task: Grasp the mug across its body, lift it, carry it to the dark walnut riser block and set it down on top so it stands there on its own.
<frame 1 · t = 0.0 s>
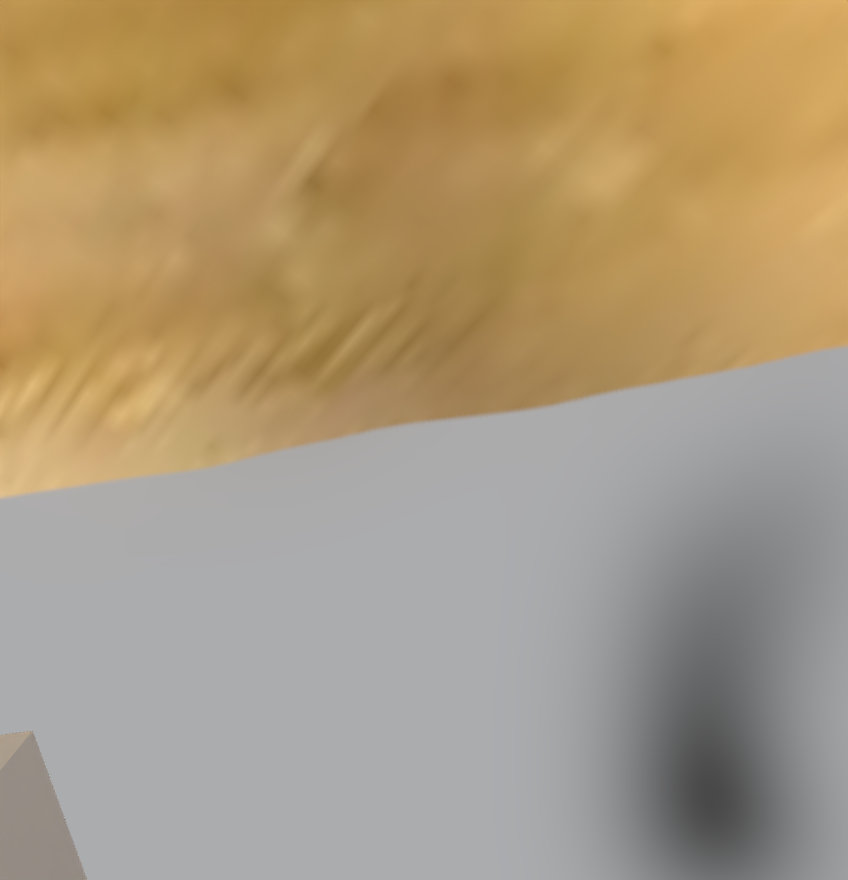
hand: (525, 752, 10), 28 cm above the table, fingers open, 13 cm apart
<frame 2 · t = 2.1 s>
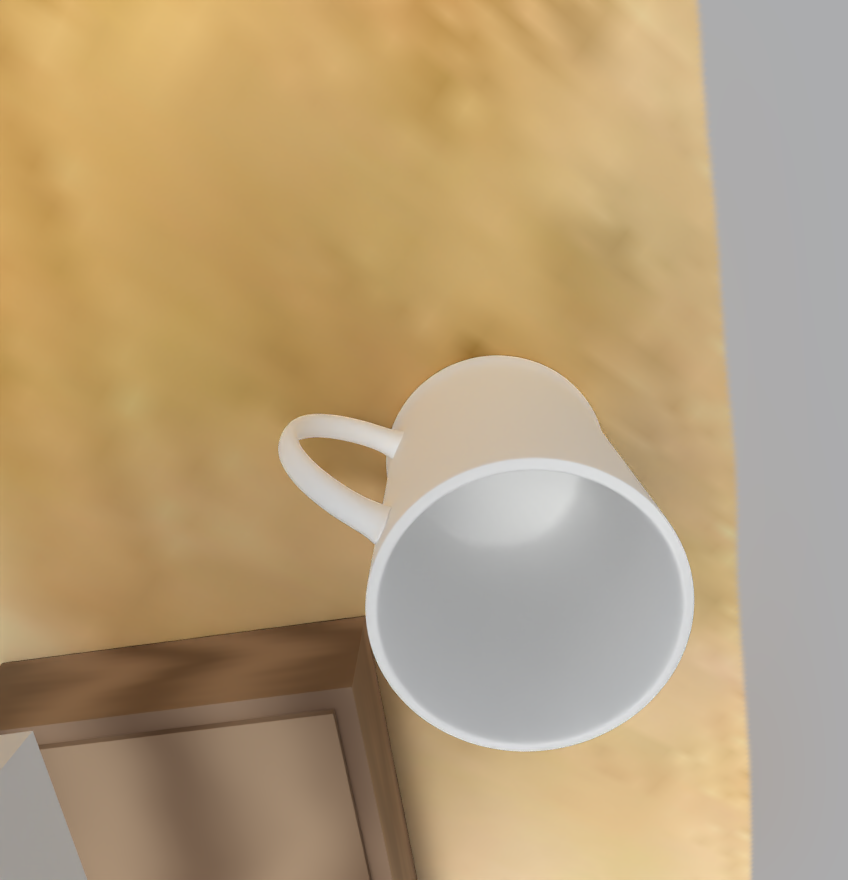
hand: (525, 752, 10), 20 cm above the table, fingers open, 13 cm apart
mug: (459, 440, 30), on the table
riser: (223, 793, 35), on the table
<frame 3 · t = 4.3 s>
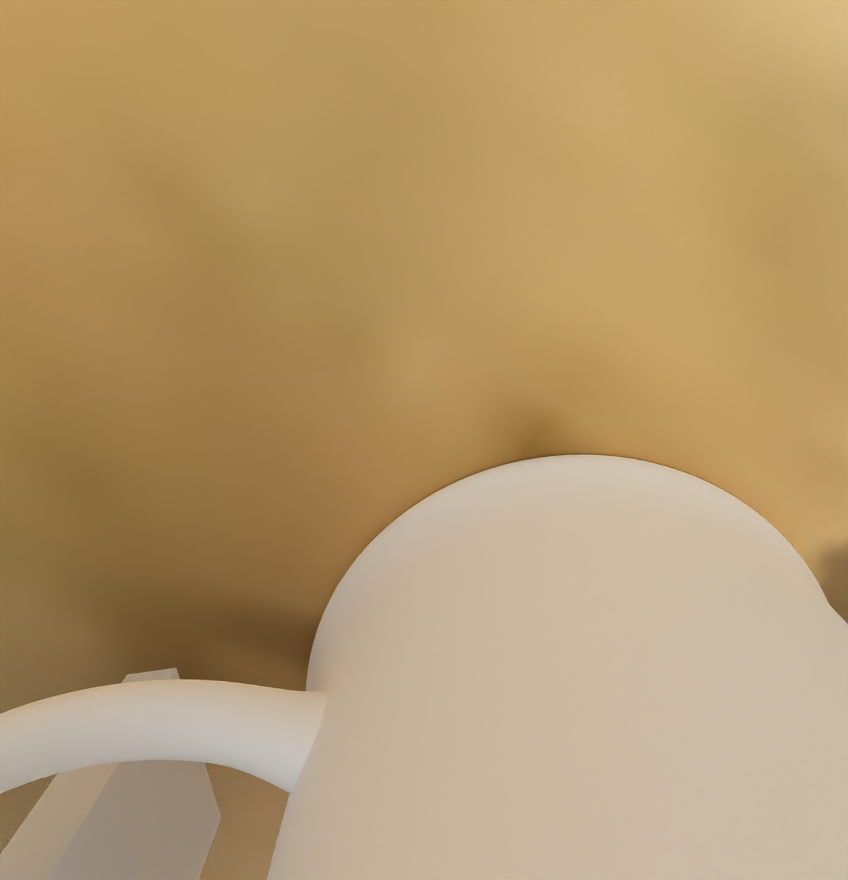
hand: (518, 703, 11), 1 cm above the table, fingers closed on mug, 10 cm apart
mug: (481, 648, 13), on the table, touching gripper
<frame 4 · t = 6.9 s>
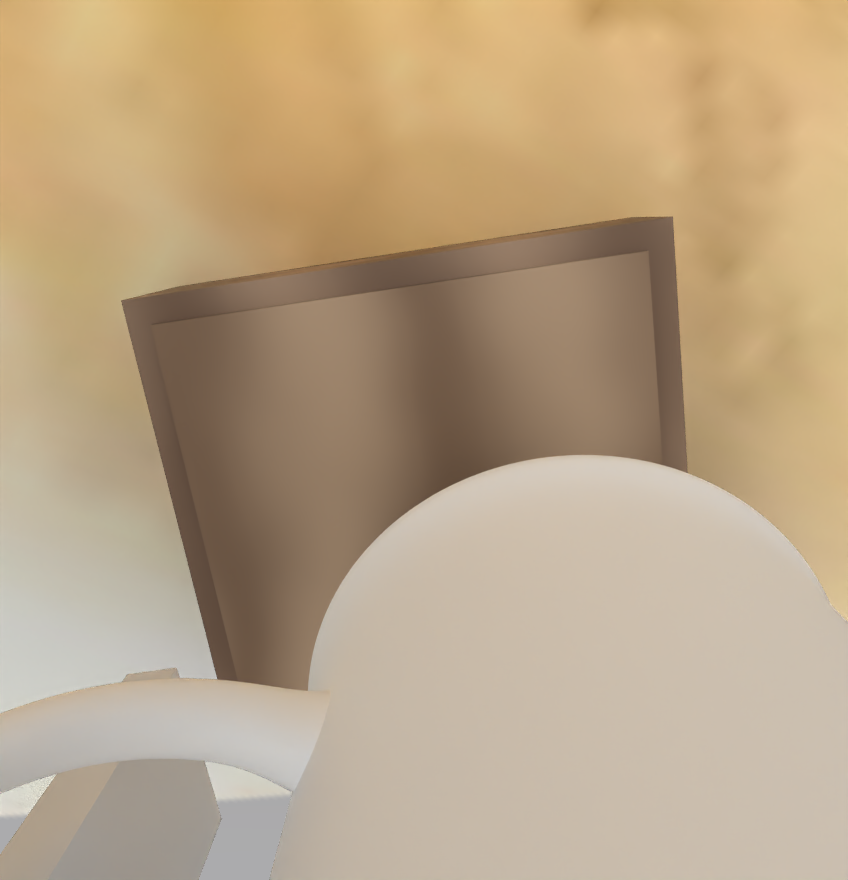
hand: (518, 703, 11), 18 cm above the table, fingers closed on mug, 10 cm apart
mug: (483, 648, 13), point 16 cm above the table, touching gripper
riser: (433, 468, 29), on the table
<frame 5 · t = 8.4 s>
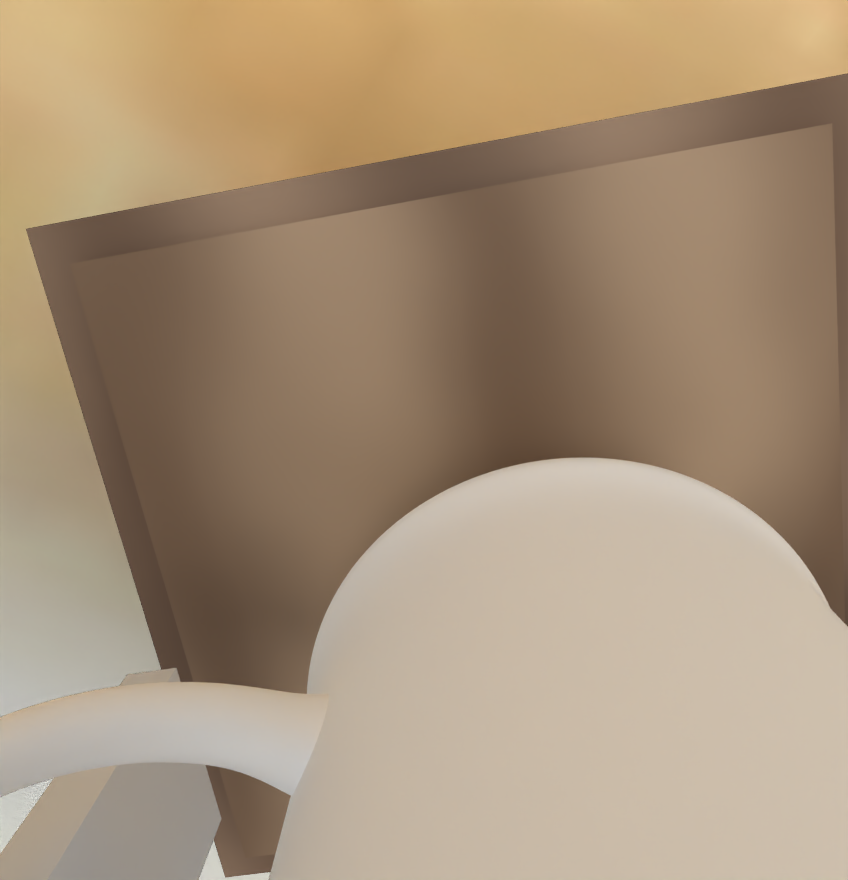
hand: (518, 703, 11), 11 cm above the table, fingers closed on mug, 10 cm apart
mug: (482, 650, 13), point 9 cm above the table, touching gripper
riser: (482, 468, 21), on the table
when the fingers open (8 cm above the table, at t = 9.5 s): mug stays where it is, resting on riser.
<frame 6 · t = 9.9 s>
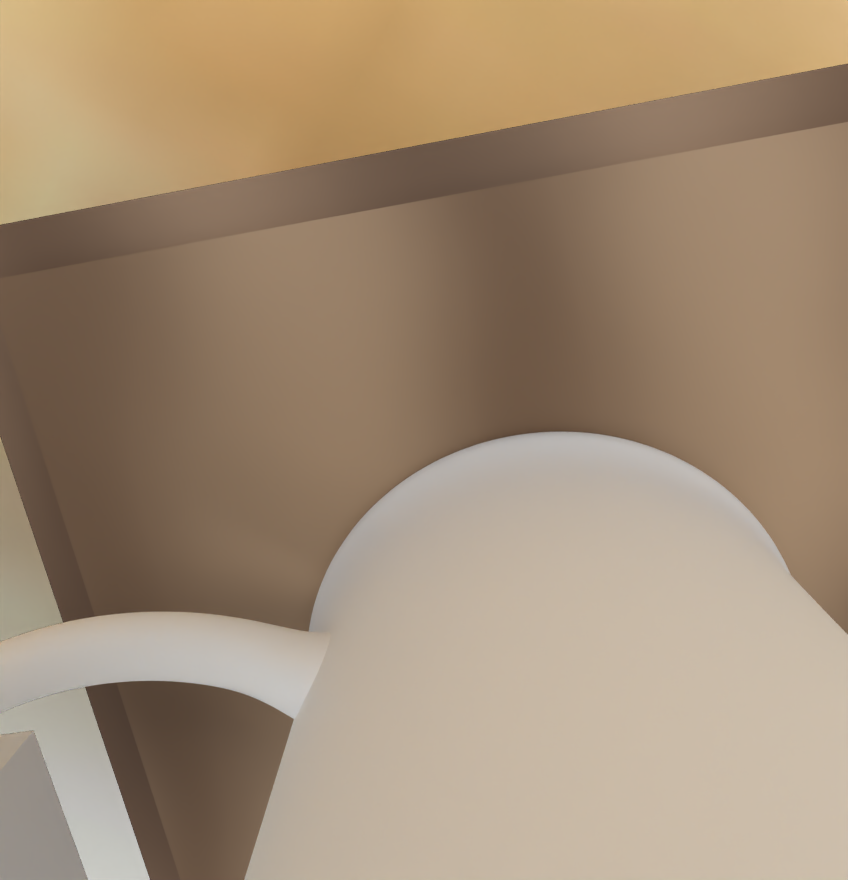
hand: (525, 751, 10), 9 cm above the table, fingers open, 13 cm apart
mug: (471, 611, 14), point 5 cm above the table, touching riser
riser: (490, 511, 18), on the table
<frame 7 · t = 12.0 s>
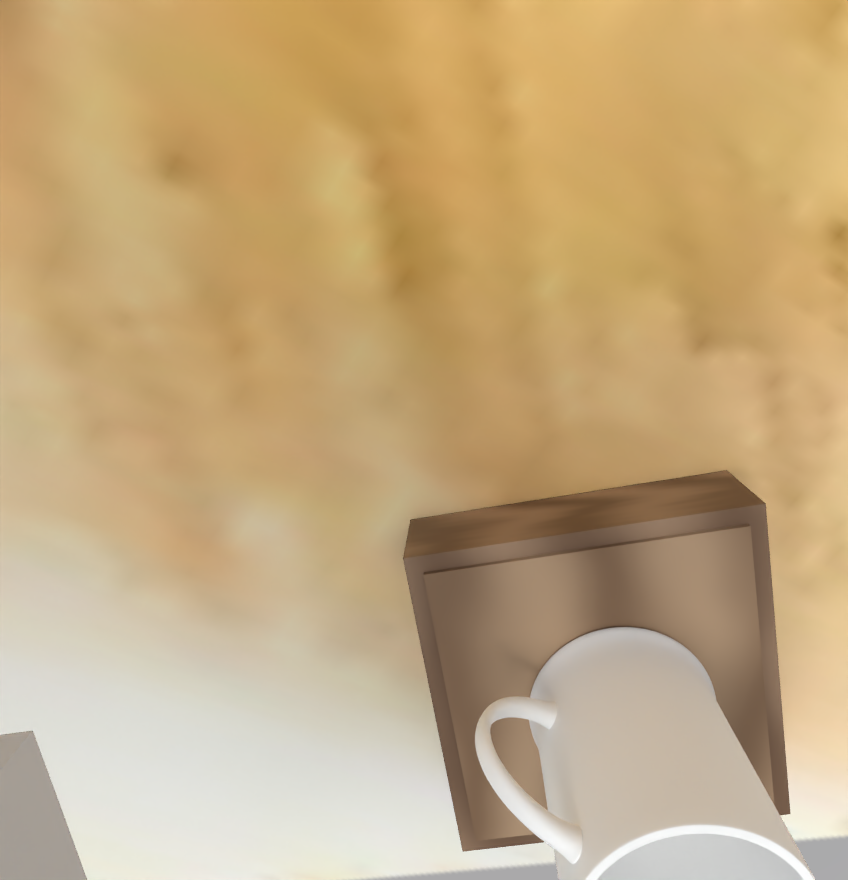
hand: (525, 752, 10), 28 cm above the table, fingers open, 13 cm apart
mug: (590, 689, 36), point 5 cm above the table, touching riser
riser: (586, 637, 40), on the table
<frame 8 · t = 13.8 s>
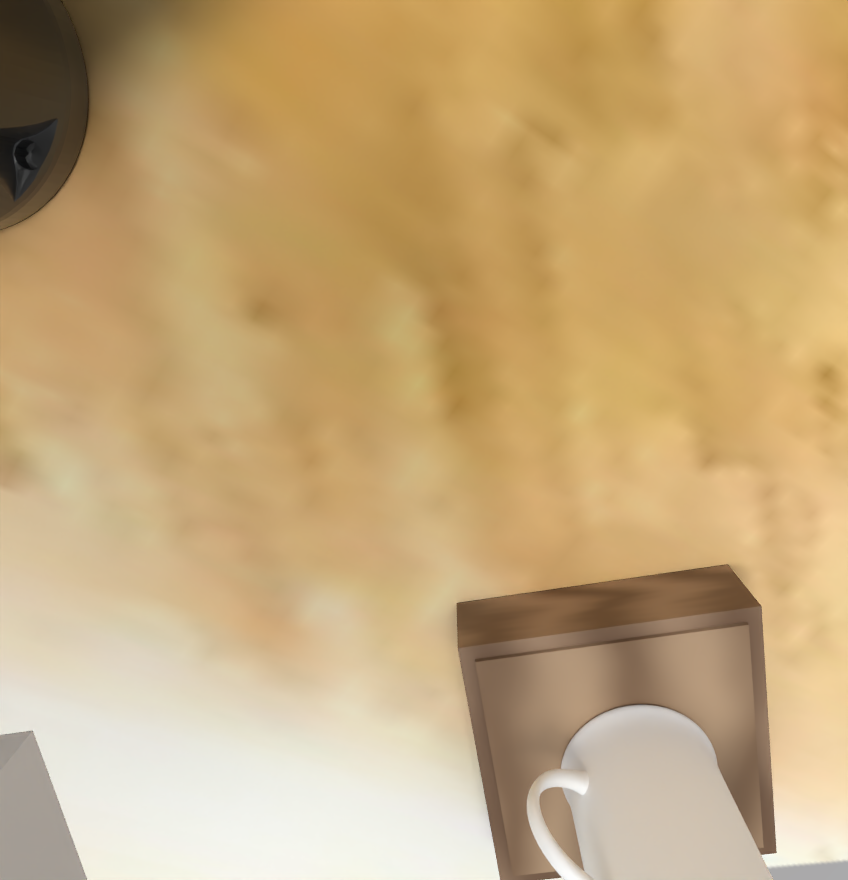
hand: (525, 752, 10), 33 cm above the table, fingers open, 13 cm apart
mug: (612, 753, 42), point 5 cm above the table, touching riser
riser: (605, 700, 47), on the table
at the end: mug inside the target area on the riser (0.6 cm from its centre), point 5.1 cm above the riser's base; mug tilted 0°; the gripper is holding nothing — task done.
